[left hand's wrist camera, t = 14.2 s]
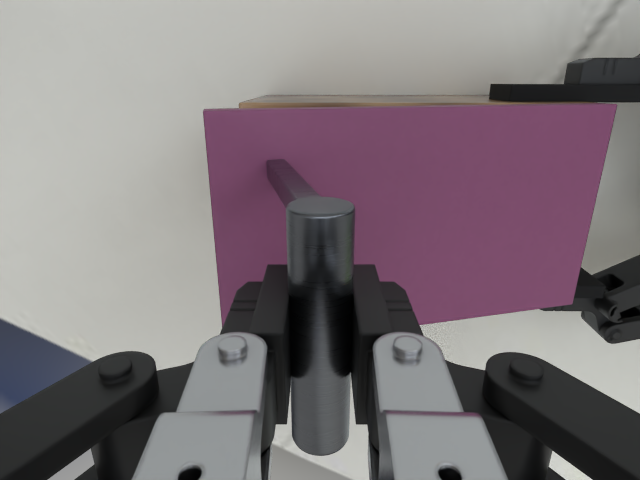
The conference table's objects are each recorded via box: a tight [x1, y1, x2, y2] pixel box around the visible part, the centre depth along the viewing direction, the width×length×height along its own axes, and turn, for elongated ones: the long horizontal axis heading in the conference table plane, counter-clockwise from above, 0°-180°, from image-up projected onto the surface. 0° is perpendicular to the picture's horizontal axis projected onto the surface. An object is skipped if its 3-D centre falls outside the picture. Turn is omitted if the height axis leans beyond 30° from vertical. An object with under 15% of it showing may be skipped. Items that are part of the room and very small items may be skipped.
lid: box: [203, 103, 617, 456], centre depth 15 cm, size 17×9×8 cm, turn 90°
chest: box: [239, 95, 594, 108], centre depth 25 cm, size 16×9×9 cm, turn 90°
